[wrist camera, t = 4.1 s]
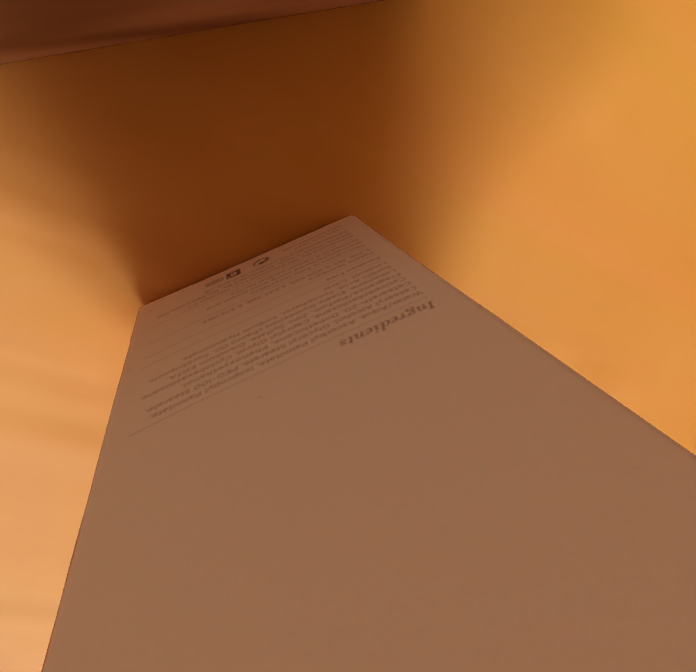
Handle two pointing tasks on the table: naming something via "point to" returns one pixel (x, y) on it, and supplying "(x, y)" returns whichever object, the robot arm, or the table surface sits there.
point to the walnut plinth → (127, 21)
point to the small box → (371, 488)
